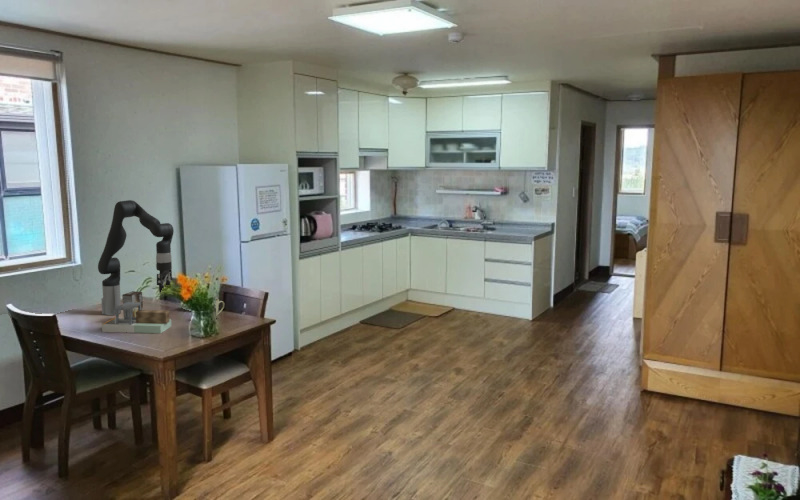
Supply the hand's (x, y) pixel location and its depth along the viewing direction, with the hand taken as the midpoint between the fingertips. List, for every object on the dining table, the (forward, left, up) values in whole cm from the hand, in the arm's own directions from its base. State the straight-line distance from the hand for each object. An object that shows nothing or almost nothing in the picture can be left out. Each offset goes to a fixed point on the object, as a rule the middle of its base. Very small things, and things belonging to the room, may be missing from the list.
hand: (164, 290), depth 310 cm
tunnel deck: (-15, 0, -21) cm, 27 cm away
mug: (+18, +22, -22) cm, 36 cm away
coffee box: (-25, +16, -22) cm, 37 cm away
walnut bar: (-7, 0, -18) cm, 19 cm away
